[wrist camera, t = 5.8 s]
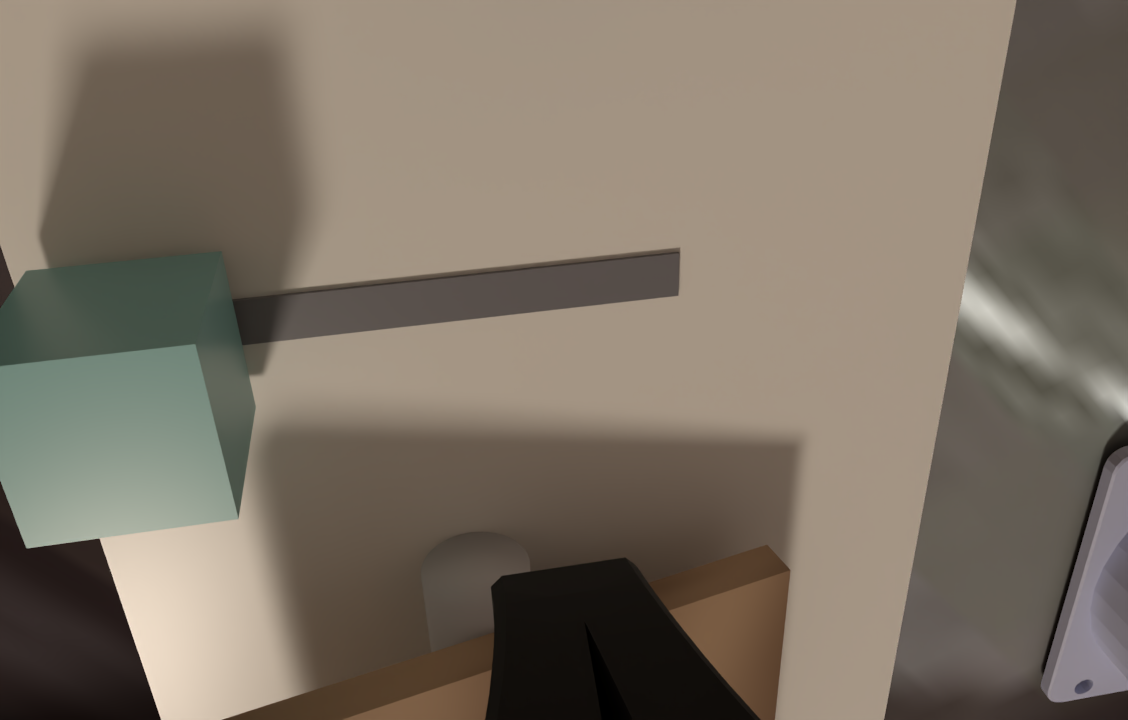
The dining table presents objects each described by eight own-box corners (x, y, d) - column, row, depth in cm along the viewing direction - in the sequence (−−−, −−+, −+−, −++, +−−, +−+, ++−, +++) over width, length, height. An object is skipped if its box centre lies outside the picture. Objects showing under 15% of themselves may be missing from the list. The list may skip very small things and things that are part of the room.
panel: (1048, -450, 14) (1216, -509, 11) (847, 771, 27) (903, 881, 24) (-191, -446, 12) (-352, -516, 9) (238, 886, 25) (224, 1022, 22)
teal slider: (221, 251, 15) (194, 344, 13) (255, 407, 17) (238, 519, 14) (25, 270, 15) (-43, 371, 12) (77, 428, 16) (26, 548, 14)
